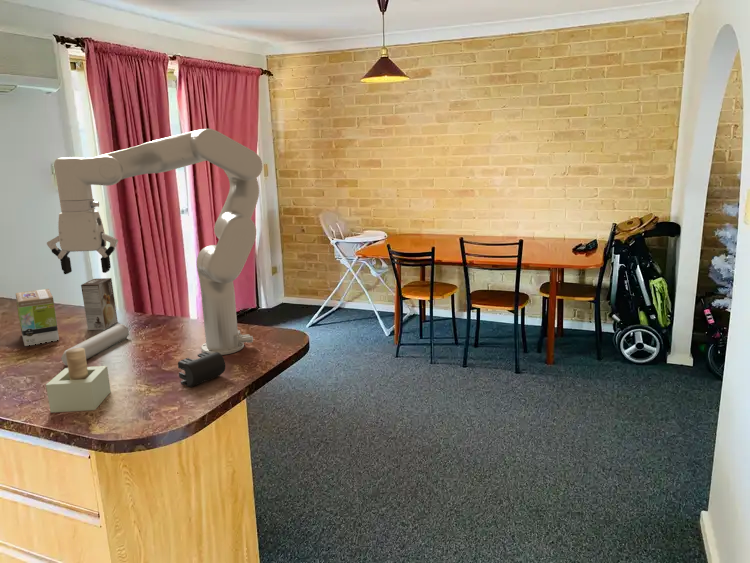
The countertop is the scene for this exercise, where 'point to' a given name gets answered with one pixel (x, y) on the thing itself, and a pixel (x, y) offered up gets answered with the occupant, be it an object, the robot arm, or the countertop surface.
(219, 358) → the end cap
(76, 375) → the peg
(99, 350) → the tube
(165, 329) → the countertop surface
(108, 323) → the coffee box
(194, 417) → the countertop surface
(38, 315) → the tea box
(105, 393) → the socket block
